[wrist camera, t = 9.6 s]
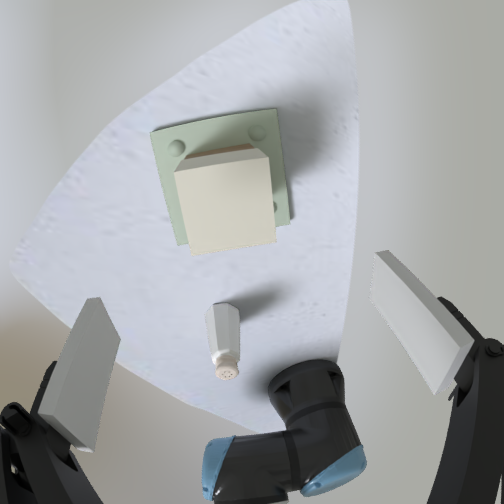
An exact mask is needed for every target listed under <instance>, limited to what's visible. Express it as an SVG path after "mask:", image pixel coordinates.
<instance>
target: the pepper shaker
mask: <svg viewBox="0 0 504 504" xmlns="http://www.w3.org/2000/svg"><path fill="white" fill-rule="evenodd" d="M205 320H206V327H207V333H208V340H209V346H210V352H211V357H212V361H213V364H216V371H215V374H216V376H217V377H218V378H220V379H223V380H230V379H233V378H235V377H236V376H237V375H238V373H239V371H238V368H237V367H238V366H237V362H239V361H240V315H239V309H237V308H235V307H233V306H232V305H230V304H228V303H222V304H214V305H212V306H211V307H210V308H209V310H208V311H207V312H206V313H205Z"/></svg>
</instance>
